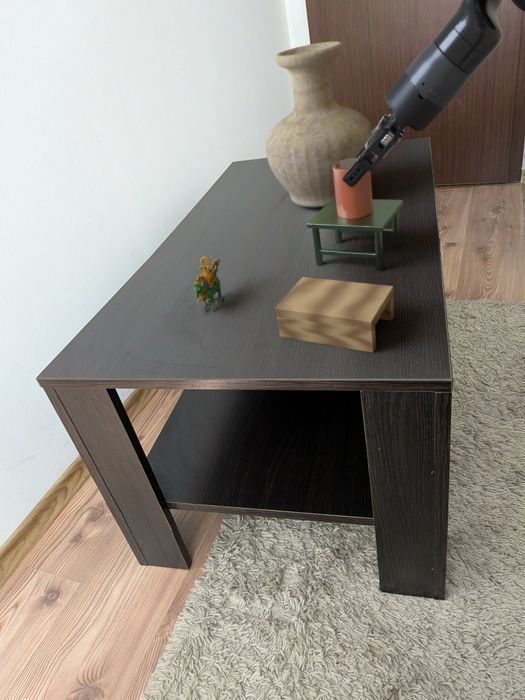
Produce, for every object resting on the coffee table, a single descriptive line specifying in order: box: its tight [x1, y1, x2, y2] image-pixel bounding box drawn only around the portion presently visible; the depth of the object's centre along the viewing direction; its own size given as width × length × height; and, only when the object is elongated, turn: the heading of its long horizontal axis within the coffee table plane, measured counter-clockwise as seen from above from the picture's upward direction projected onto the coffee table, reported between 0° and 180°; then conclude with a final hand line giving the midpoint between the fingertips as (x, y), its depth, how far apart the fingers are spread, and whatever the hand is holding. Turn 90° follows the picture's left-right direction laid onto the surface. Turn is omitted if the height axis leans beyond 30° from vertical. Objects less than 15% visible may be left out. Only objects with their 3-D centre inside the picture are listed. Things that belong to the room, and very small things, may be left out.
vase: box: [265, 40, 373, 208], centre depth 106 cm, size 22×22×30 cm
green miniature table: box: [306, 199, 404, 272], centre depth 88 cm, size 13×11×8 cm
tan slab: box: [274, 276, 395, 354], centre depth 72 cm, size 14×9×5 cm, turn 61°
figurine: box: [193, 256, 223, 312], centre depth 84 cm, size 3×12×8 cm, turn 167°
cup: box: [333, 158, 373, 219], centre depth 84 cm, size 6×6×8 cm
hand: (352, 173), depth 82 cm, fingers open, 8 cm apart
